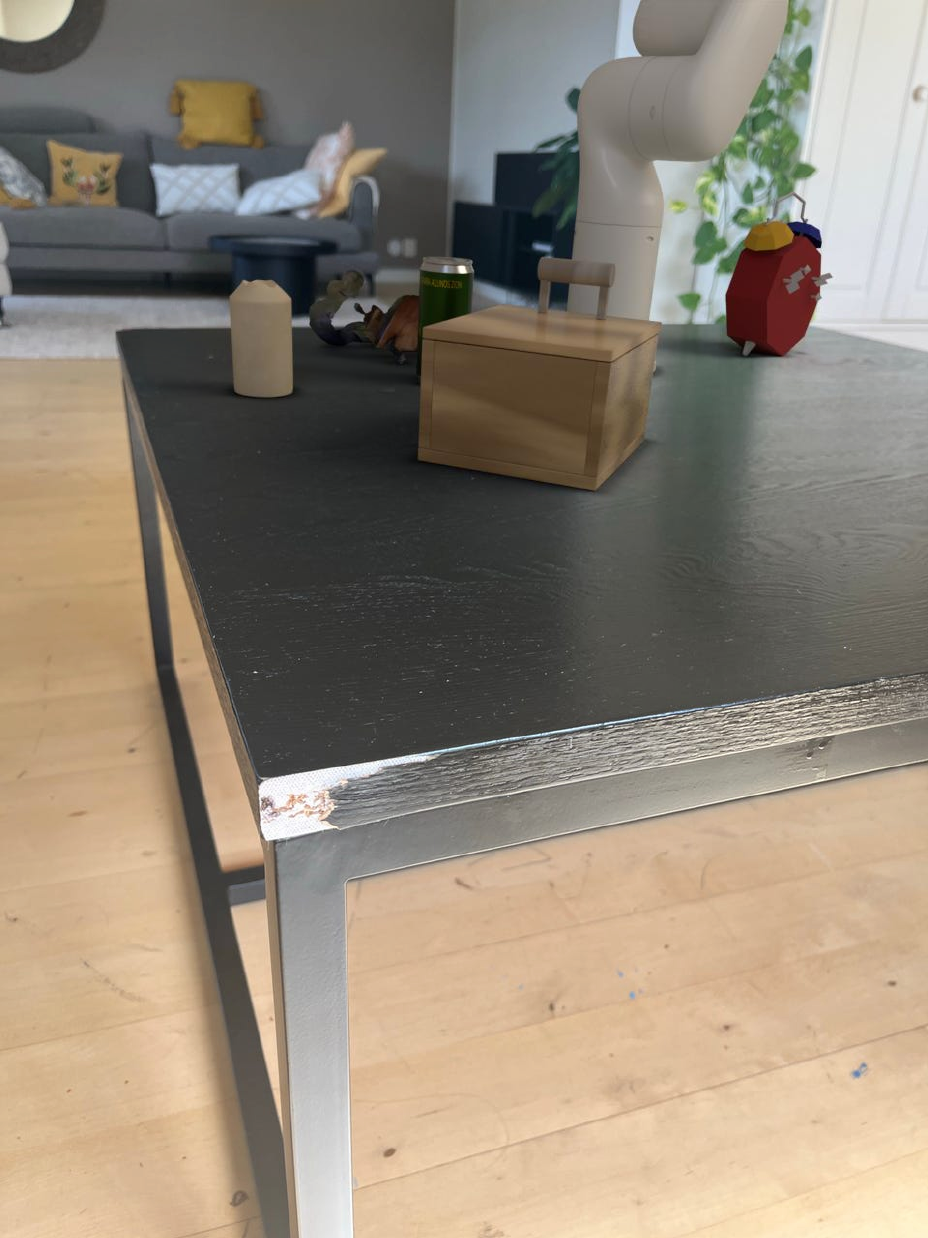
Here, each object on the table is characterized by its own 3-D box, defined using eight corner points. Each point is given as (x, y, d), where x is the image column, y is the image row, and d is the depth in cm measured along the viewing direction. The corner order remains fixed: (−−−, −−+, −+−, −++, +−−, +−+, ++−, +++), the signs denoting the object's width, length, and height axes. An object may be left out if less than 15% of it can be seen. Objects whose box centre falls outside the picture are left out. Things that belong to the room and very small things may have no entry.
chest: (490, 418, 86) (498, 314, 82) (643, 441, 82) (658, 333, 78) (417, 460, 73) (421, 339, 69) (595, 491, 68) (611, 363, 64)
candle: (280, 400, 88) (277, 285, 83) (224, 394, 88) (218, 280, 84) (301, 388, 92) (299, 280, 88) (247, 382, 93) (243, 275, 89)
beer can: (474, 386, 98) (482, 262, 93) (425, 387, 96) (430, 261, 91) (457, 375, 103) (463, 257, 97) (409, 376, 101) (413, 255, 96)
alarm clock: (768, 344, 136) (797, 190, 127) (825, 354, 131) (859, 195, 122) (714, 353, 126) (741, 187, 117) (773, 364, 121) (807, 191, 112)
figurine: (341, 379, 118) (288, 337, 106) (357, 312, 119) (305, 264, 107) (450, 390, 112) (406, 347, 101) (466, 320, 113) (424, 269, 101)
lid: (501, 313, 83) (506, 250, 81) (660, 331, 78) (670, 266, 76) (422, 338, 69) (424, 263, 66) (611, 362, 64) (620, 282, 62)
